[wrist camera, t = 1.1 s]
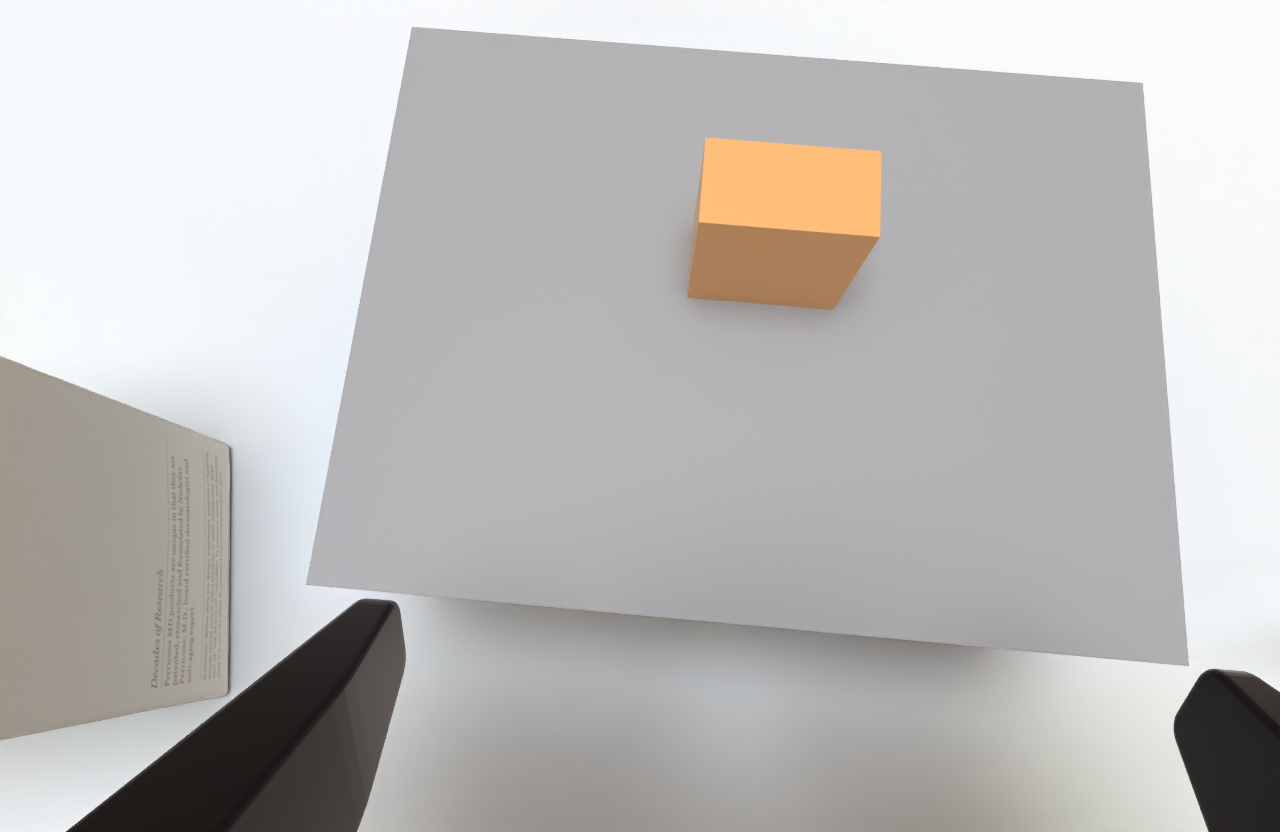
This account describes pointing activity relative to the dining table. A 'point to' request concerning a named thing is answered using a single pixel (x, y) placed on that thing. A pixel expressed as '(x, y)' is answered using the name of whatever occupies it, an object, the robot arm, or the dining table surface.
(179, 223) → the dining table surface
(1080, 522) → the lid
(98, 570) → the supplement box
